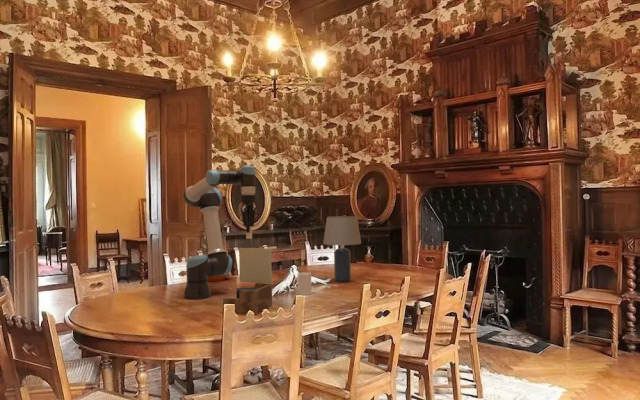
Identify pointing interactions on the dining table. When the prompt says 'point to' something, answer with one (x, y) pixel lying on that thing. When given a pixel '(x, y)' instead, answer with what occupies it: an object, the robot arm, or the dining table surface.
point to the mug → (303, 283)
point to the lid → (255, 265)
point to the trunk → (252, 299)
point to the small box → (244, 289)
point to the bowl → (217, 278)
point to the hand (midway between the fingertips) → (249, 238)
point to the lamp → (342, 243)
